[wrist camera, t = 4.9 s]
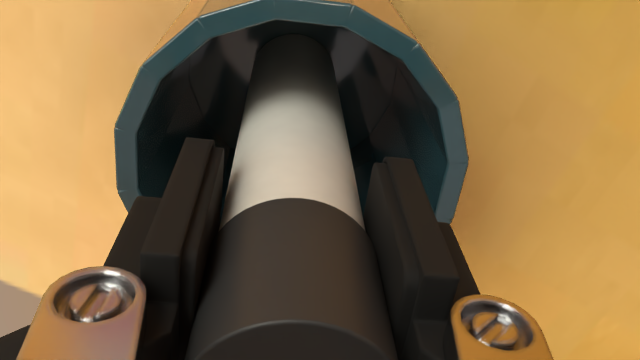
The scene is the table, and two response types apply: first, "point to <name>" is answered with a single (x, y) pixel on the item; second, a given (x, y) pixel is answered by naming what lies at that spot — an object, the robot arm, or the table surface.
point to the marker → (292, 228)
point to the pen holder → (234, 77)
